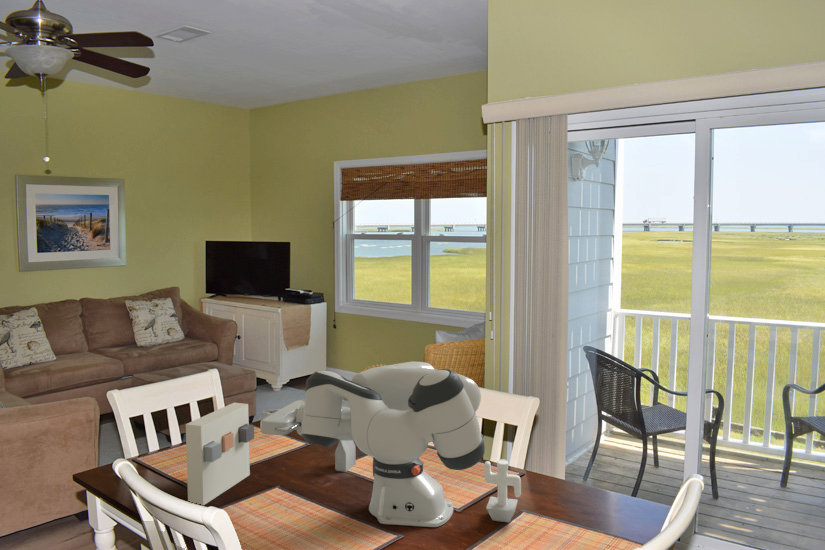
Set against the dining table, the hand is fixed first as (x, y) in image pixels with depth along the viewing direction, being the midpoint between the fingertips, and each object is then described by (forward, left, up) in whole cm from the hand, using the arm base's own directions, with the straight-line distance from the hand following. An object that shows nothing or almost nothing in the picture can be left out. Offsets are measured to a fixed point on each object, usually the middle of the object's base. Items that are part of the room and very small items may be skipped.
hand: (264, 413), depth 172 cm
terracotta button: (+14, -1, -12) cm, 18 cm away
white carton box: (-12, -27, -24) cm, 38 cm away
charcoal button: (+13, -9, -12) cm, 19 cm away
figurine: (-65, -9, -24) cm, 70 cm away
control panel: (+16, -1, -24) cm, 28 cm away
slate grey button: (+12, +7, -12) cm, 19 cm away
